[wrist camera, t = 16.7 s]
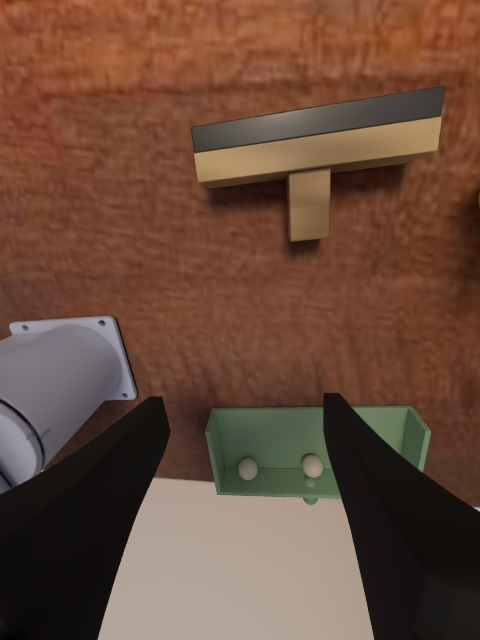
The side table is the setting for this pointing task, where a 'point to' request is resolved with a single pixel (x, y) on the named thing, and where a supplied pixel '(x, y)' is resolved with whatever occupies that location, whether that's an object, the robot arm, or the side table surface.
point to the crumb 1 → (248, 469)
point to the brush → (318, 149)
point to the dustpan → (297, 447)
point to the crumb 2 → (312, 466)
